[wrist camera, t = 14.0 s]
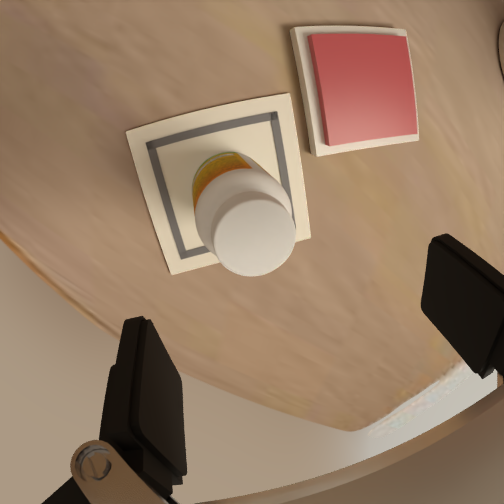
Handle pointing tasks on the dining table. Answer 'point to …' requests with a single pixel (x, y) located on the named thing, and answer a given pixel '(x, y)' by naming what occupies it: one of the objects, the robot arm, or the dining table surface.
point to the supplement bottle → (242, 214)
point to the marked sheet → (201, 148)
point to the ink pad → (355, 87)
